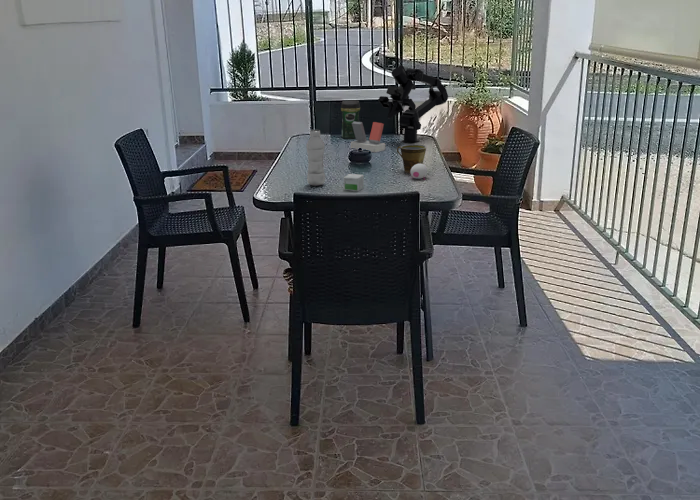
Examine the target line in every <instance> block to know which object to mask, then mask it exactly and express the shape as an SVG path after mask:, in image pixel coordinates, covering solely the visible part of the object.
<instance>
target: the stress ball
mask: <svg viewBox="0 0 700 500" xmlns="http://www.w3.org/2000/svg"><path fill="white" fill-rule="evenodd" d="M428 172H429V168H428V167H427V165H426V164H424V163H423V164H416V165H414V166H413V167H412V168H411V171H410V176H411V177H412V178H413V179H417V180H419V179H420V180H421V179H423V180H424V181H425V180H426V178H425V177H426V176H427V174H428Z"/></svg>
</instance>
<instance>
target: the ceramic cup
mask: <svg viewBox="0 0 700 500" xmlns="http://www.w3.org/2000/svg"><path fill="white" fill-rule="evenodd" d="M399 149H400V152H399ZM426 151H427V146H426V145H421V144H416V143H415V144H414V143H411V144H404V145H401V146H399V145H398V146H397V148H396V152H397V154H398V155H399V156H400V157H401V158H402V163H403V164H402V165H403V169H404V170H403V171H404V173H405V174H410V171H411V168H412V167H413V166H414V165H416V164H424V161H425V157H426V156H425V155H426ZM410 175H411V174H410Z"/></svg>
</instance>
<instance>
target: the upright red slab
mask: <svg viewBox="0 0 700 500" xmlns="http://www.w3.org/2000/svg"><path fill="white" fill-rule="evenodd" d="M384 125H385V123H382V122H377V121H373V122H372V126H371V131H370V133H369V138H368V141H369V142H370V143H376V144H379V143H381V139H382V134H383V130H384Z"/></svg>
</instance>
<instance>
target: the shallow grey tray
mask: <svg viewBox="0 0 700 500" xmlns="http://www.w3.org/2000/svg"><path fill="white" fill-rule="evenodd" d="M351 148H356V149H355V150H357V149H358V148H362V149H366V150H370V151H371V152H370V153H378V152H379V153H380V152H383V151H384V152H385V151H386V143H383V142H380V143H379V144H376V143H370V142H369V140H366V142H363V141H357V140H354V141H350V149H351Z"/></svg>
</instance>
